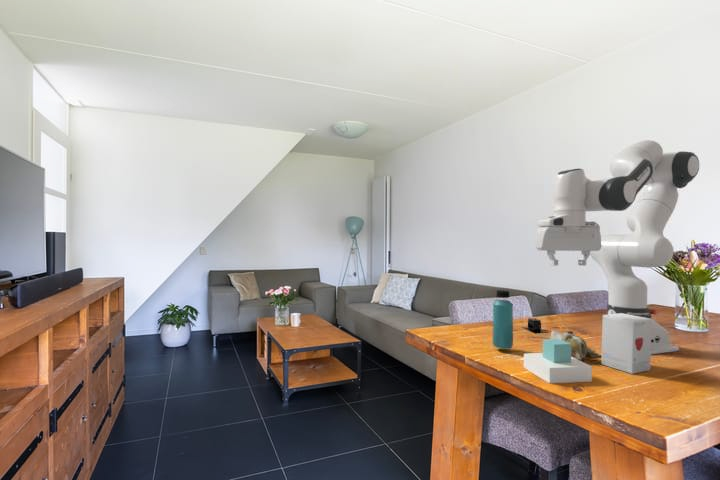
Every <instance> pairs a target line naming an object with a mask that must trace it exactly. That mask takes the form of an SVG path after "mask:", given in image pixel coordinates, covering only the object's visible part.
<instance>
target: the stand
mask: <svg viewBox="0 0 720 480" xmlns="http://www.w3.org/2000/svg"><path fill="white" fill-rule="evenodd" d="M523 368H524V369H526V370H528V371H529V372H531V373H532V374H534V375H536V376H537V377H539V378H540V379H542V380H543V381H545V382H546V383H548V384H566V383H567V384H568V383H569V384H570V383H585V382H586V383H589V382H593V366H592V365H590V364H588V363H585V362H583V361H579V360H577V359H575V358H573V357H571V362H569V363H553V362H551V361H549V360H547V359H545V358H543V352H532V353H530V352H529V353H528V352H527V353H523Z"/></svg>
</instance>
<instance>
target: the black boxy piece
mask: <svg viewBox="0 0 720 480" xmlns="http://www.w3.org/2000/svg"><path fill="white" fill-rule="evenodd" d="M521 328H522V329H524V330H527V331H529V332H531V333H533V334H549V332H548V331H545V330H543V329H542V323H541V320H540V319H538V318H536V317H535V318H533V317H532V318H530V317H529V318H528V320H527V326H521Z"/></svg>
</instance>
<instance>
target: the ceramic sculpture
mask: <svg viewBox="0 0 720 480" xmlns="http://www.w3.org/2000/svg"><path fill="white" fill-rule="evenodd" d="M550 339H560V340H563V341H565V342H568V343H570V344H571V357H573V358H575V359H577V360H579V361H582V362H583V358H587V359H592V360H595V359H601V358H602V354H599V353H598V352H596V351H595V349H593V348H590V347H589V346H588V345H587V342H586V341H585V340H584V338H582V337H580V336H577V335H575V334H574V331H570V330H569V331H565V332H563V333H561V332H559V331H556V330H555V329H551V333H550Z"/></svg>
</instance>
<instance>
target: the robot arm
mask: <svg viewBox="0 0 720 480" xmlns="http://www.w3.org/2000/svg"><path fill="white" fill-rule="evenodd" d="M609 165H610V166H609V169H610V173H611V176H612V177H611V178H606V179H605V178H604V179H597V180H591V179H589V178H588V177H586V175H585V170H584V169H583V168H573V169H567V170H562V171H559V172H558V173H557V174H556V175H555V179H554V184H553V200H554V206H553V207H554V208H553V213H552V215H551V216H547V217H545V218H541V219H539V220H538V221H537V227H538V228H537V230H536V232H535V248H536V249H537V250H538V251H540V252H541V251H546V255H547V257H548V259H549V260H550V261H549V262H550V266H559V260H558V259H556V257H555V255H556V252H557V251H558V252H559V251H562V252H569V251H571V252H574V251H576V252H580V255H582V256H581V258H580V259H578V260H577V262H578V263H577V264H578V266H587V260H588V258H589V257H590V256H591V258H592V260H594V261H595V262H596V263H597V264H598V265H599V266H600V267H601V269H602V271H603V273H604V275H605V277H606V281H607V291H608V303H607V304H606V315H609V314H618V313H623V314H629V315H634V316H639V317H645V318H650V319H652V324H651V355H657V354H664V353H672V352H673V353H674V352H680V348H679V347H678V346H677V345H675V344H672V343H671V336H670V332H669V331H668V330H667V329H666V328H665V327H663V326H661V324H659V323H658V322H657V321H656V320H654V319H653V317H652V315H654V316H658V314H659V309H656V308H652V307H651V308H649V307H648V285H647V284H646V282H645V281H644V280H642V279H641V278H639V277H638V276H636V275H635V273H634V271H633V269H632V267H636V268H637V267H638V268H645V269H646V268H658V267H665V266H666V265H668V264H669V263H670V262H671V261H672V259H673V257H674V246H673V244H672V242H671V241H670V240H669V239H668V238H666V237H665V236H664V229H665V227H666V226H667V223H668V221H669V220H670V218H671V217H672V215H673V213H674V211H675V209H676V206H677V203H678V201H679V200H678V199H679V191H678V189H683V188H685V187H686V186H687V185H688V184H689V183H691V182H692V181H693V180H694V179H695V177H697V175H698V173H699V170H700V160H699V157H698V156H697V155H696V154H695V152H691V151H678V152H664V151H663V147H662V146H661V144H660V143H658V142H656V141H654V140H650V139H649V140H648V139H647V140H641V141H639V142H636V143H634V144H632V145H629V146H627V147H626V148H624V149H623V150H621V151H620V152H619V153H618V154H616V155H615V156H614V158H613V159H612V160H611V162H610V164H609ZM644 186H647V189H646V190H645V191H644V192H643V194H642V195H641V196H640V197H639V198H638V200H637V201H636V198H637V195H638V193H639V192H640V191H641V190H642V189H643V188H644ZM635 201H636V203H635V205H634V206H633V207H632V205H633V203H634V202H635ZM629 207H632V209H631V211H630V212H629V214H628V216H627V219H626V225H627V227H628V228H629V230H630V231H631V233H630V234H606V235H601V226H600V225H599V224H598V223H597V221H588V220H587V221H586V218H587V217H586V215H587V214H586V213H587V212H604V211H605V212H607V211H611V212H612V211H615V212H617V211H618V212H623V211H625V210H627V209H629Z"/></svg>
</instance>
